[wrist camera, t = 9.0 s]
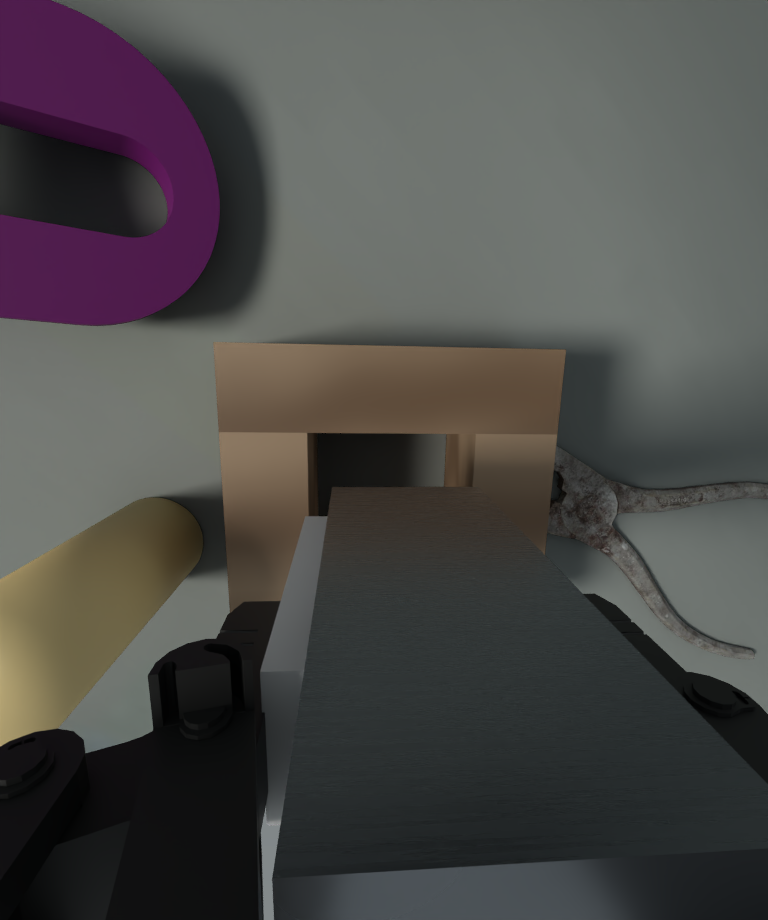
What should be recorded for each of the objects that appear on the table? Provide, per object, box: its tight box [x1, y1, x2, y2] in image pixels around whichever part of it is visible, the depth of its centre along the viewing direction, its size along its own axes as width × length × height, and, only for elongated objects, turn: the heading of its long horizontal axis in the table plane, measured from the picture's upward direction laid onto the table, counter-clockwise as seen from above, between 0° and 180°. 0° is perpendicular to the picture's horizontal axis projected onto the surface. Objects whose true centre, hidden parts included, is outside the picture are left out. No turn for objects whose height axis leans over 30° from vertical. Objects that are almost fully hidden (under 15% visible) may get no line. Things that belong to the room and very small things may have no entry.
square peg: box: [272, 487, 768, 920], centre depth 9 cm, size 4×4×10 cm
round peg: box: [0, 498, 203, 746], centre depth 17 cm, size 4×4×10 cm
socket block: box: [213, 342, 566, 613], centre depth 19 cm, size 12×12×5 cm
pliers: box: [547, 446, 768, 659], centre depth 24 cm, size 10×1×20 cm
